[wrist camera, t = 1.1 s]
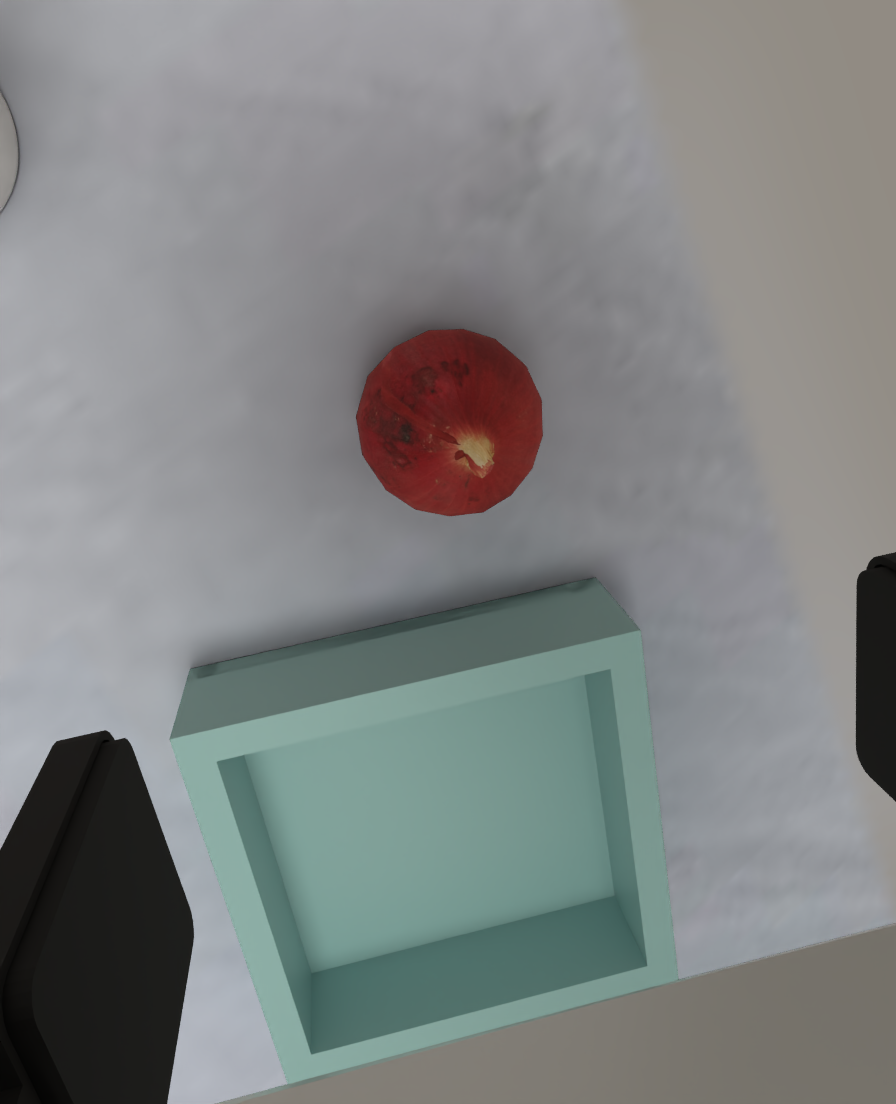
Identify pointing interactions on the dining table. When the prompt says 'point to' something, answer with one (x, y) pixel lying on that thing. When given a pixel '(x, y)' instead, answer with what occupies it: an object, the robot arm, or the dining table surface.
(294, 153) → the dining table surface
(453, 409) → the pomegranate
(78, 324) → the dining table surface
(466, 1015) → the bin
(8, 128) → the beer glass
